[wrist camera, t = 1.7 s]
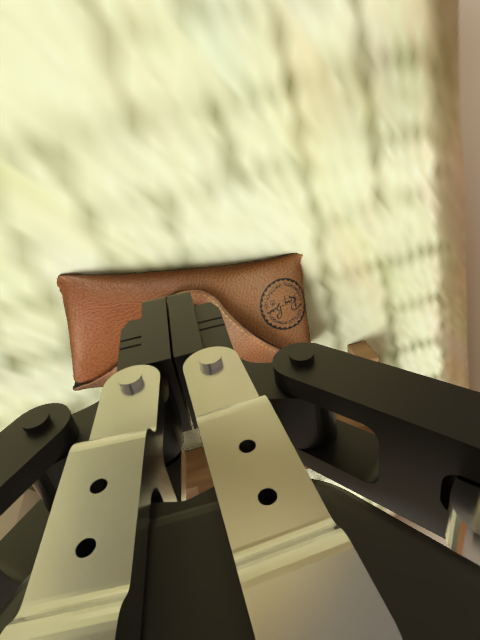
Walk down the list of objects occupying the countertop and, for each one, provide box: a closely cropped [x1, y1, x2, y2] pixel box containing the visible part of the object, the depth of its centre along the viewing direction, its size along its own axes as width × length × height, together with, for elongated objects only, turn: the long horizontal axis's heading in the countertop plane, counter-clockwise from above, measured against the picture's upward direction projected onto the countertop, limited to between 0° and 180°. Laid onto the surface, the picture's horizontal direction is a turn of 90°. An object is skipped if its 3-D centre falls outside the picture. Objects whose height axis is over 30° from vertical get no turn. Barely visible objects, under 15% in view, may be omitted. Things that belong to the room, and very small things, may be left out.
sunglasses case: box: [57, 253, 310, 391], centre depth 30 cm, size 18×7×7 cm
